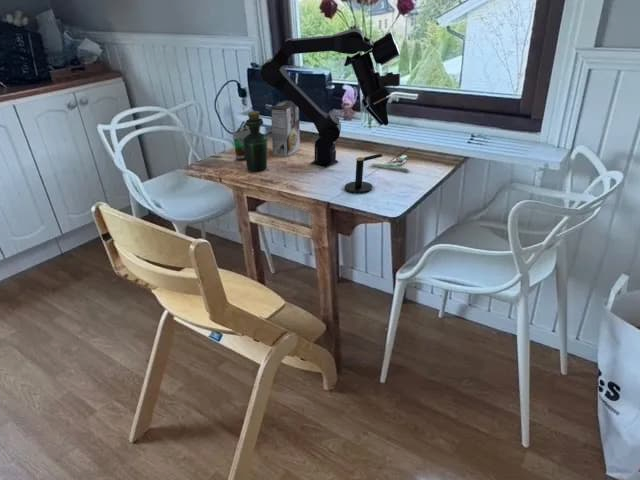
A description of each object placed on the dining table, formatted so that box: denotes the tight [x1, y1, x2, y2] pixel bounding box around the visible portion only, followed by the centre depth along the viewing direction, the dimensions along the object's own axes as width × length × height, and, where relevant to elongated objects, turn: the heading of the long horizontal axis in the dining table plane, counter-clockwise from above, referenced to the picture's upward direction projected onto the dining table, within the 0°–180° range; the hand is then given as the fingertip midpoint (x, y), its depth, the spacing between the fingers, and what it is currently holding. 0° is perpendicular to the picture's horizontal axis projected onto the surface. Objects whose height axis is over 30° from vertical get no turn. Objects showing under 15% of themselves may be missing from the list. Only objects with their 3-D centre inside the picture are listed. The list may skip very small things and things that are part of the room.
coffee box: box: [270, 100, 301, 158], centre depth 180 cm, size 9×6×16 cm
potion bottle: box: [243, 110, 269, 173], centre depth 169 cm, size 8×8×18 cm
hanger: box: [371, 154, 410, 172], centre depth 166 cm, size 1×12×11 cm
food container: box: [232, 122, 250, 162], centre depth 182 cm, size 12×6×10 cm, turn 160°
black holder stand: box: [344, 152, 384, 195], centre depth 151 cm, size 8×12×9 cm
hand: (384, 124), depth 158 cm, fingers open, 9 cm apart
